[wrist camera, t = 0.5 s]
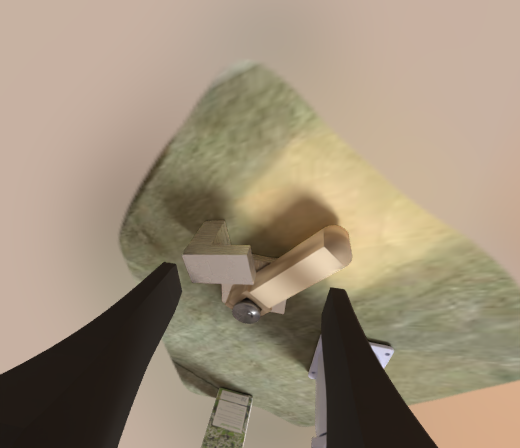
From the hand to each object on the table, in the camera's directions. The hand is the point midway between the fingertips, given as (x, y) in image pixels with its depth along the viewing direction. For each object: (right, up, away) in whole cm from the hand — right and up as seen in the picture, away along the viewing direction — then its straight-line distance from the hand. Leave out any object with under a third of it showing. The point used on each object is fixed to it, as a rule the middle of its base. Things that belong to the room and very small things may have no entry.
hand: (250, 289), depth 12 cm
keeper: (-2, +2, +12) cm, 13 cm away
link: (+3, -1, +12) cm, 12 cm away
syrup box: (-4, -26, +31) cm, 41 cm away
